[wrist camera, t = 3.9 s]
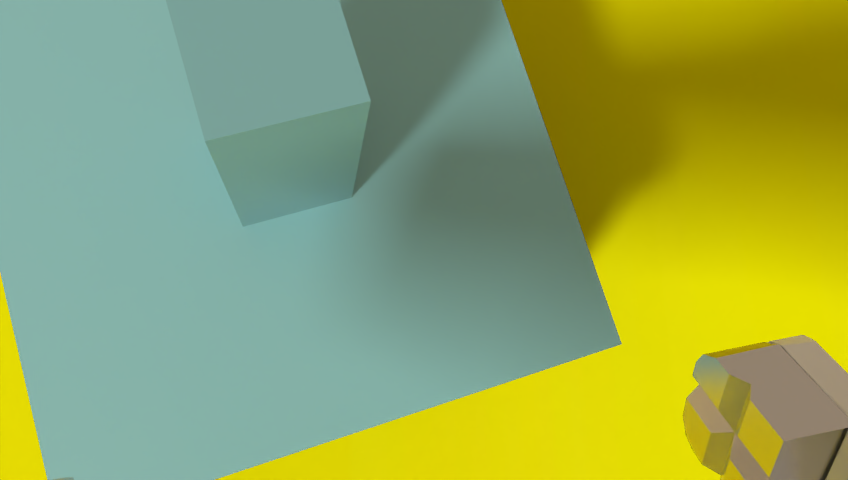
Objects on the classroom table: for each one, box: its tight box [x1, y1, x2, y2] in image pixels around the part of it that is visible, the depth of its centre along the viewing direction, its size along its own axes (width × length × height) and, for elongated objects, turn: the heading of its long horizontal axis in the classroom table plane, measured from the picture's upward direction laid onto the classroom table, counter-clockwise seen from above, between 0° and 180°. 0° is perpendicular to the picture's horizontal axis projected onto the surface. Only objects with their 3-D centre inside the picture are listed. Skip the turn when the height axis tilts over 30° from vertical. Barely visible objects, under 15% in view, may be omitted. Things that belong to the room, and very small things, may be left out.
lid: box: [0, 0, 621, 480], centre depth 18 cm, size 15×15×9 cm
